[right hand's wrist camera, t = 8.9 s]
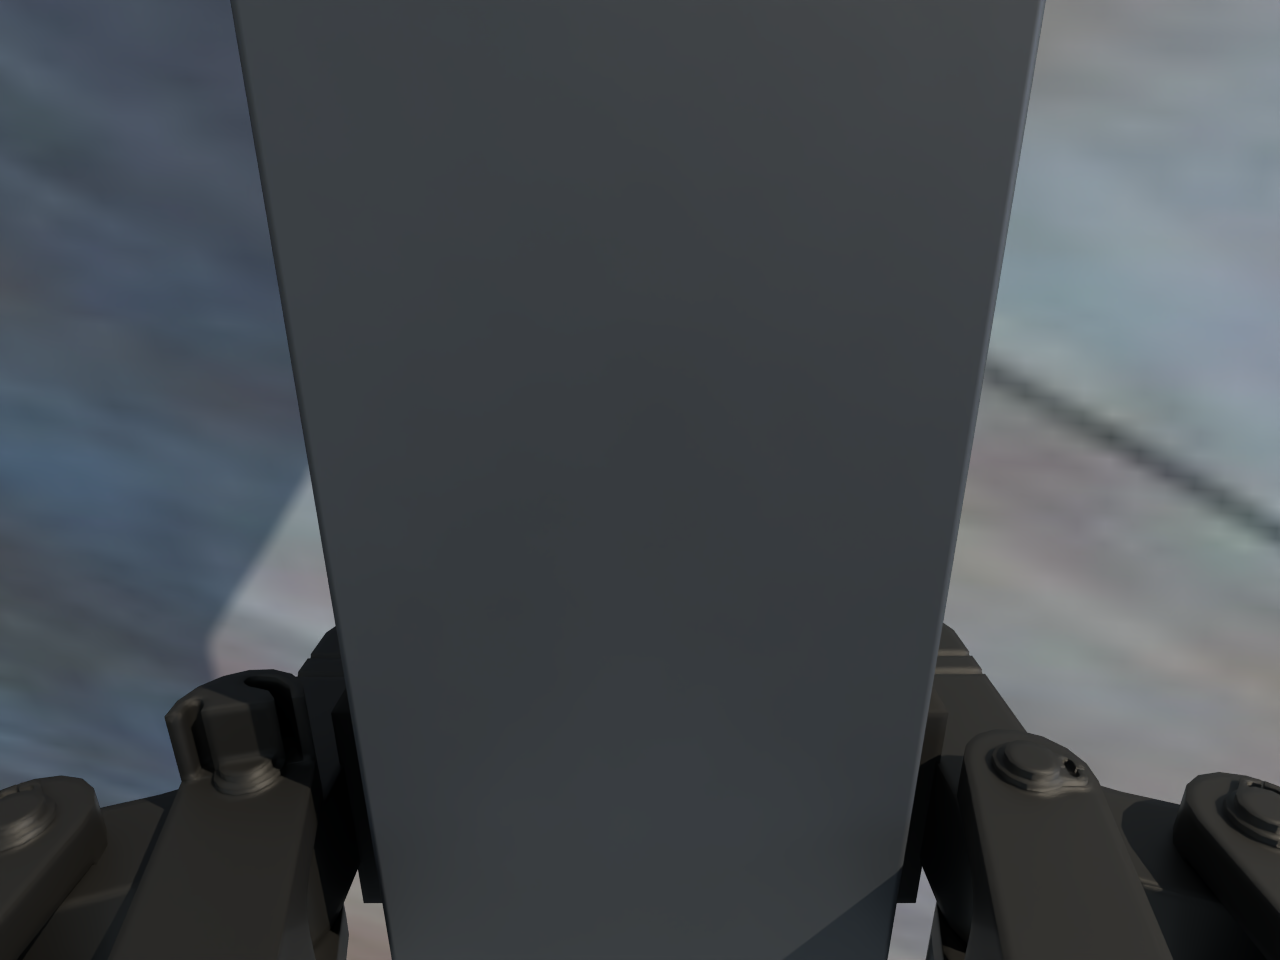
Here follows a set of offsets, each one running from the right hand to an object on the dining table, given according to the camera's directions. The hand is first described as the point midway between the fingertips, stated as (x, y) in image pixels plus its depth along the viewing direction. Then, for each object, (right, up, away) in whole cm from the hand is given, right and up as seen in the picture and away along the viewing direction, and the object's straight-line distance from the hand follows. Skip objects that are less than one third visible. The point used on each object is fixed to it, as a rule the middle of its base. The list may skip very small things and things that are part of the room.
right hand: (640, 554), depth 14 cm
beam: (0, +11, -4) cm, 12 cm away
